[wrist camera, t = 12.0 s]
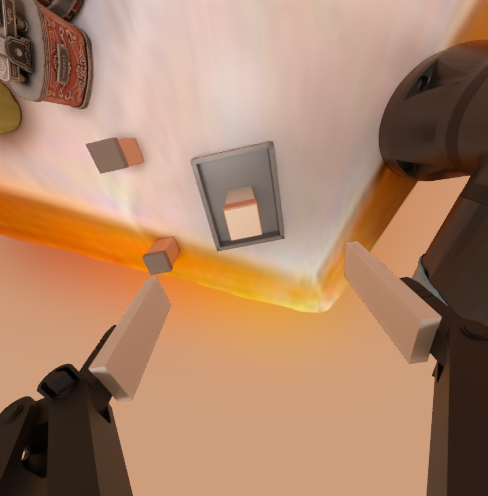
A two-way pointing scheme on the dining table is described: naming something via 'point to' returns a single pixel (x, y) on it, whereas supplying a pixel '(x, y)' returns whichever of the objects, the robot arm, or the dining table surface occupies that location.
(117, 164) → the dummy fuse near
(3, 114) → the plant pot
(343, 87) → the dining table surface
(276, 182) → the tray
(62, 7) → the mug
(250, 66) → the dining table surface
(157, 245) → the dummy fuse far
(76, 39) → the lighter
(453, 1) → the dining table surface
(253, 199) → the block
